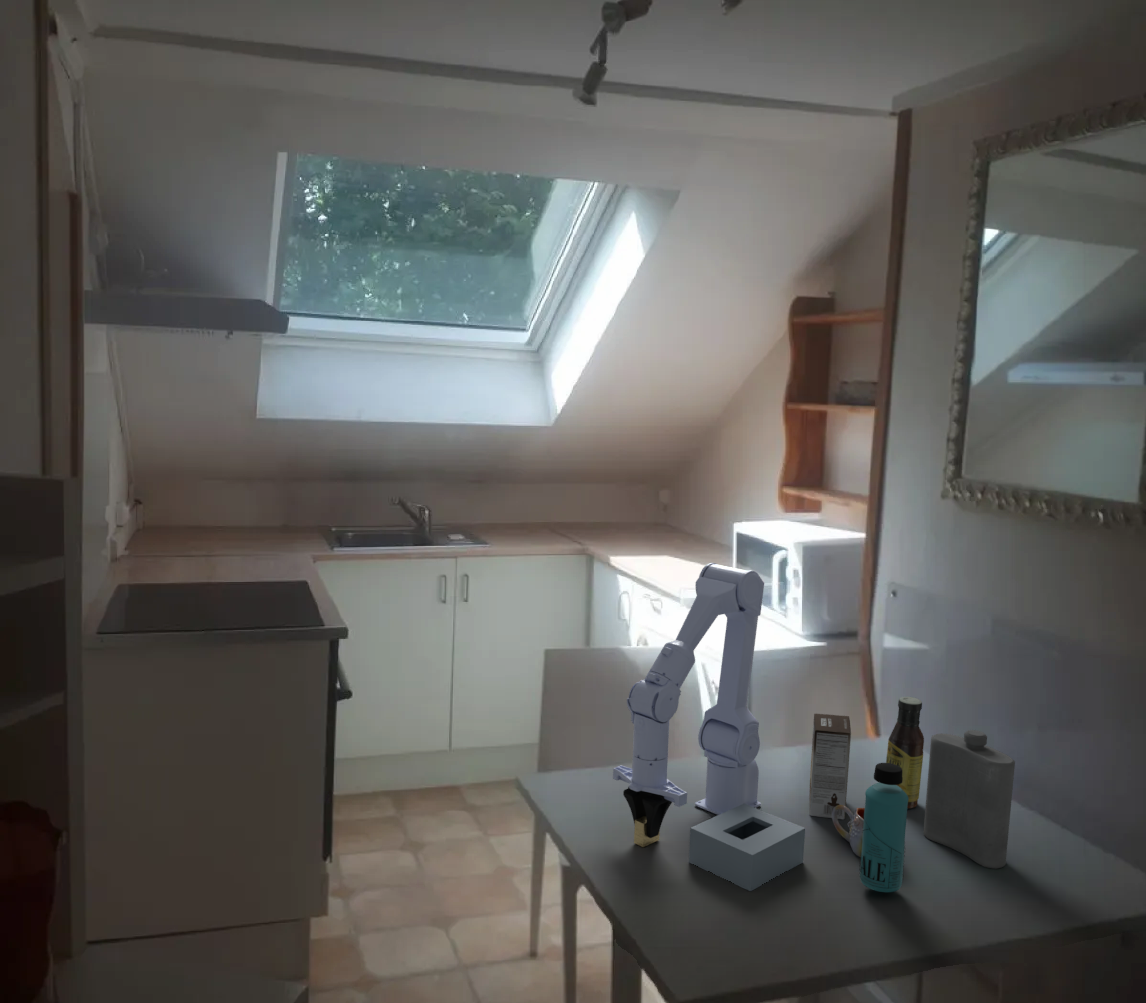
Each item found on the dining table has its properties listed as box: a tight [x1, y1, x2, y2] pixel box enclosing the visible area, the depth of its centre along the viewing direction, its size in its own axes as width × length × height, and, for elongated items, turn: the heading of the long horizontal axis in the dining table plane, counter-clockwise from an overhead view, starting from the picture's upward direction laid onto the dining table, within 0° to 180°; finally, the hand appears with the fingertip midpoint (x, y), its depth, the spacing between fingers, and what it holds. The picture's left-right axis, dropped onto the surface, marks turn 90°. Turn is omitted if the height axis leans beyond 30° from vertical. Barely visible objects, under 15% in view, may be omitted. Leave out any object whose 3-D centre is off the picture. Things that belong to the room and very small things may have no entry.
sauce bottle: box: [885, 696, 925, 810], centre depth 188 cm, size 7×6×20 cm
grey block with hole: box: [688, 804, 806, 892], centre depth 165 cm, size 14×12×6 cm
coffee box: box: [808, 713, 852, 820], centre depth 186 cm, size 9×6×16 cm
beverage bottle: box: [858, 762, 909, 893], centre depth 156 cm, size 6×7×20 cm
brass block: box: [633, 815, 661, 848], centre depth 171 cm, size 4×2×4 cm, turn 134°
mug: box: [831, 805, 865, 858], centre depth 172 cm, size 12×7×7 cm, turn 31°
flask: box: [923, 729, 1016, 870], centre depth 171 cm, size 15×6×20 cm, turn 31°
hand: (647, 833), depth 171 cm, fingers closed on brass block, 2 cm apart
